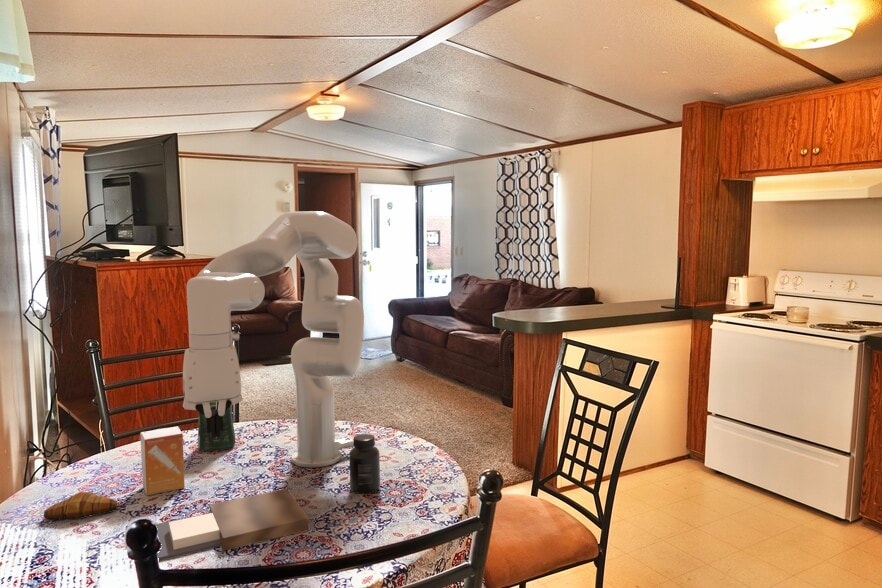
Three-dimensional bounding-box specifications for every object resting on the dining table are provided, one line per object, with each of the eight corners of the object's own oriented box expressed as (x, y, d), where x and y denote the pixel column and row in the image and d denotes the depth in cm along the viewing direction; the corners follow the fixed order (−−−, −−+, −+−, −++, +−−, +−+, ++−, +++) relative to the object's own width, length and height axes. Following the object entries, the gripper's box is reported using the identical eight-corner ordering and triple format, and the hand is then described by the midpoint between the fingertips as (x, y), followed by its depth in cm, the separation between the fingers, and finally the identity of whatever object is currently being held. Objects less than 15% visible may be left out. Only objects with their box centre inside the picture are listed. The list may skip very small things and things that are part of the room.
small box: (146, 496, 134) (143, 439, 133) (142, 486, 139) (139, 431, 138) (185, 488, 138) (183, 432, 137) (180, 479, 144) (177, 425, 142)
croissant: (121, 504, 131) (120, 481, 130) (114, 517, 124) (113, 494, 124) (49, 512, 127) (48, 489, 126) (38, 527, 120) (37, 503, 120)
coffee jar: (236, 440, 170) (233, 375, 168) (234, 450, 163) (232, 382, 161) (199, 444, 168) (196, 378, 166) (196, 453, 160) (193, 384, 158)
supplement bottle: (385, 485, 140) (385, 434, 139) (370, 496, 134) (369, 444, 133) (360, 480, 143) (359, 430, 142) (343, 491, 137) (343, 439, 135)
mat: (215, 514, 125) (214, 511, 125) (227, 544, 113) (227, 541, 113) (150, 528, 119) (150, 525, 119) (156, 561, 107) (156, 558, 107)
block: (212, 521, 121) (212, 512, 121) (219, 538, 114) (219, 529, 114) (169, 531, 117) (168, 522, 117) (173, 549, 110) (173, 540, 110)
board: (287, 499, 133) (287, 488, 132) (309, 529, 119) (308, 518, 118) (209, 515, 125) (209, 504, 125) (223, 550, 111) (223, 538, 111)
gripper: (246, 335, 122) (250, 423, 124) (165, 342, 115) (170, 436, 116) (255, 340, 115) (258, 434, 117) (169, 348, 108) (174, 448, 110)
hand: (214, 435), depth 117 cm, fingers closed
